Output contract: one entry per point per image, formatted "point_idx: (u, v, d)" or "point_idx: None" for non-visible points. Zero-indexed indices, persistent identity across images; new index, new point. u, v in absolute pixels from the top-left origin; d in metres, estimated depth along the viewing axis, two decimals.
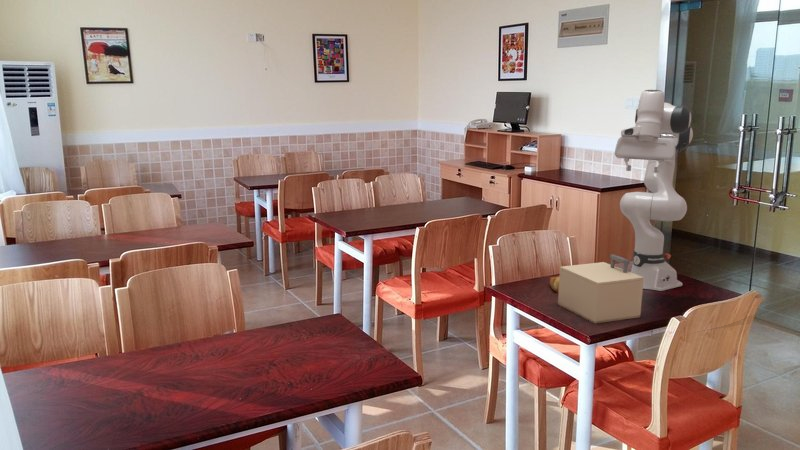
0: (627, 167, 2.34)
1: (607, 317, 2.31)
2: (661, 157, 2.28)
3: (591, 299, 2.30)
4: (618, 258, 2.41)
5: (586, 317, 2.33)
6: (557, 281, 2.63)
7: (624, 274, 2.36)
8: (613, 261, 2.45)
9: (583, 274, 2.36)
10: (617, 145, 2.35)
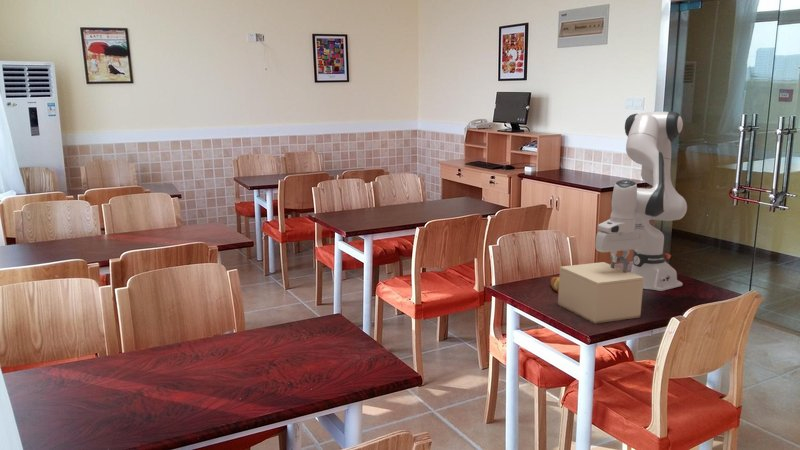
0: (616, 260, 2.40)
1: (607, 317, 2.31)
2: (636, 248, 2.41)
3: (591, 299, 2.30)
4: None
5: (586, 317, 2.33)
6: (557, 281, 2.63)
7: (624, 274, 2.36)
8: None
9: (583, 274, 2.36)
10: (604, 242, 2.35)
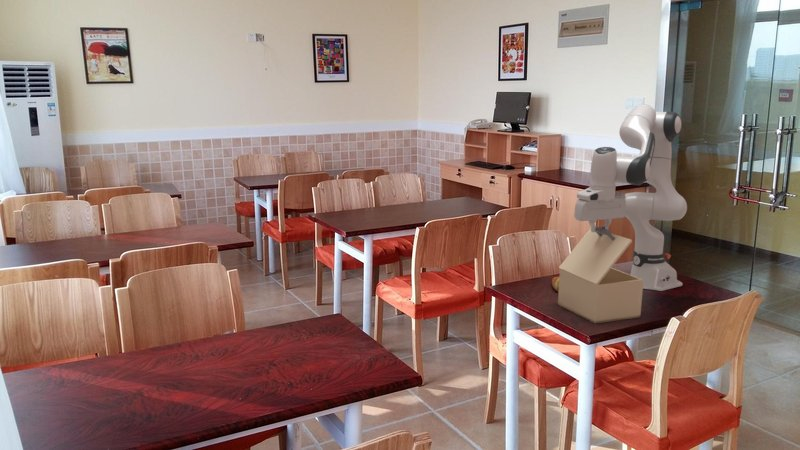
0: (595, 229, 2.34)
1: (607, 317, 2.31)
2: (617, 217, 2.35)
3: (591, 299, 2.30)
4: (599, 231, 2.35)
5: (586, 317, 2.33)
6: (558, 281, 2.63)
7: (614, 245, 2.32)
8: (597, 231, 2.39)
9: (580, 272, 2.35)
10: (583, 211, 2.28)
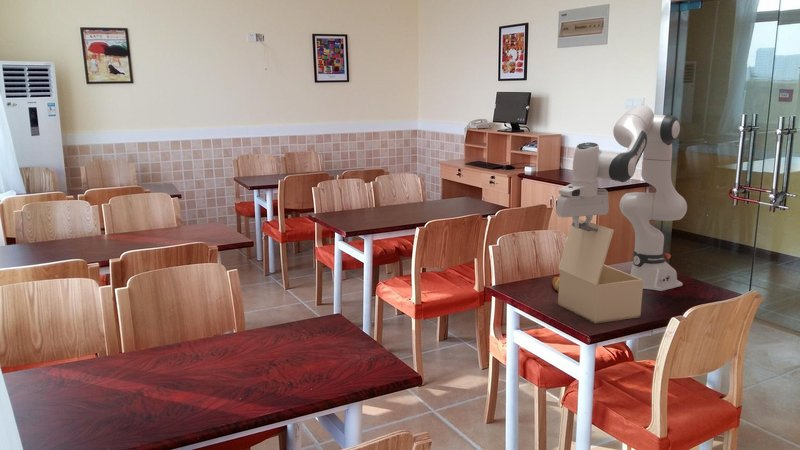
0: (578, 226, 2.30)
1: (607, 317, 2.31)
2: (599, 213, 2.32)
3: (591, 299, 2.30)
4: (580, 228, 2.32)
5: (586, 317, 2.33)
6: (558, 281, 2.63)
7: (598, 237, 2.29)
8: None
9: (578, 272, 2.35)
10: (564, 207, 2.25)
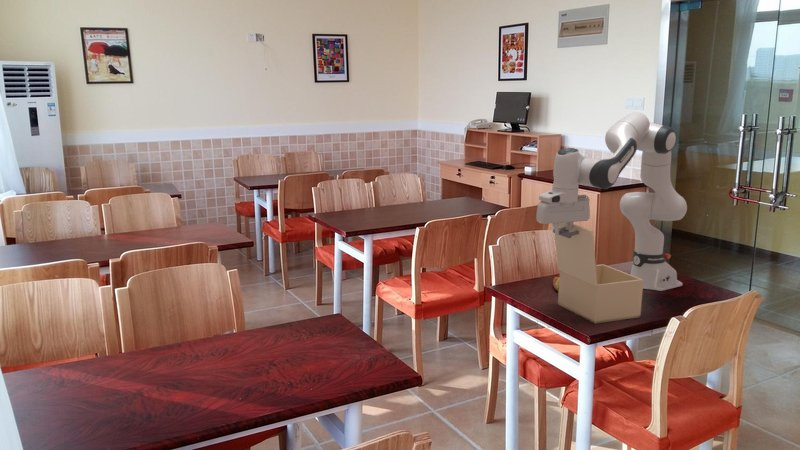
0: (558, 232, 2.28)
1: (607, 317, 2.31)
2: (580, 220, 2.29)
3: (591, 299, 2.30)
4: (561, 235, 2.29)
5: (586, 317, 2.33)
6: None
7: (582, 239, 2.26)
8: None
9: (576, 273, 2.35)
10: (544, 213, 2.23)
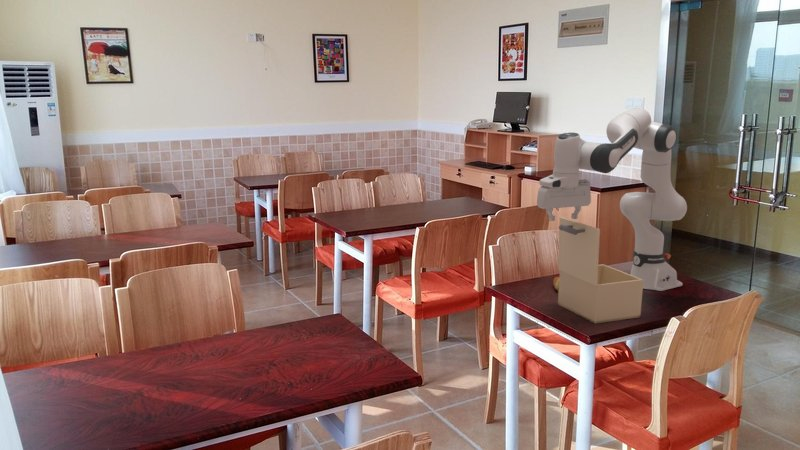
0: (552, 218, 2.26)
1: (607, 317, 2.31)
2: (581, 205, 2.28)
3: (591, 299, 2.30)
4: (567, 232, 2.30)
5: (586, 317, 2.33)
6: None
7: (587, 237, 2.27)
8: None
9: (577, 272, 2.35)
10: (545, 198, 2.22)
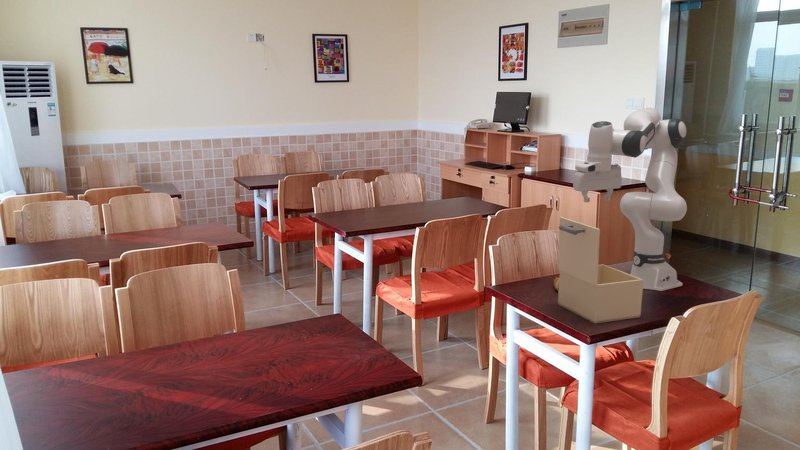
0: (587, 200, 2.47)
1: (607, 317, 2.31)
2: (613, 187, 2.50)
3: (591, 299, 2.30)
4: (567, 232, 2.30)
5: (586, 317, 2.33)
6: None
7: (587, 237, 2.27)
8: None
9: (577, 272, 2.35)
10: (581, 181, 2.43)
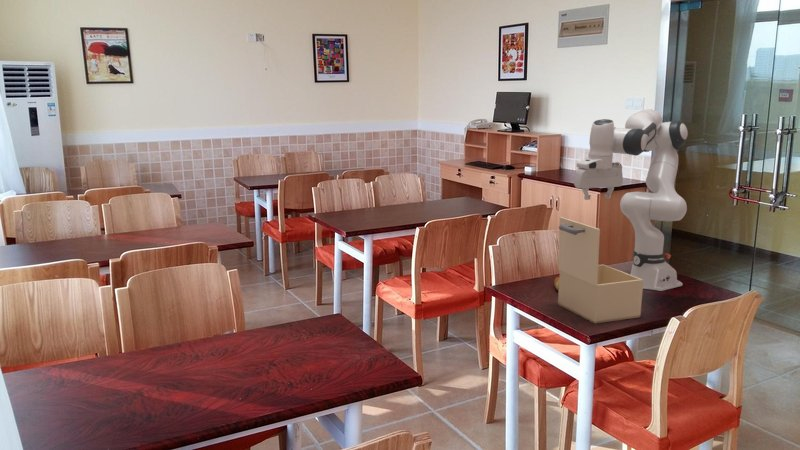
0: (588, 197, 2.48)
1: (607, 317, 2.31)
2: (614, 185, 2.50)
3: (591, 299, 2.30)
4: (567, 232, 2.30)
5: (586, 317, 2.33)
6: None
7: (587, 237, 2.27)
8: None
9: (577, 272, 2.35)
10: (582, 178, 2.44)
